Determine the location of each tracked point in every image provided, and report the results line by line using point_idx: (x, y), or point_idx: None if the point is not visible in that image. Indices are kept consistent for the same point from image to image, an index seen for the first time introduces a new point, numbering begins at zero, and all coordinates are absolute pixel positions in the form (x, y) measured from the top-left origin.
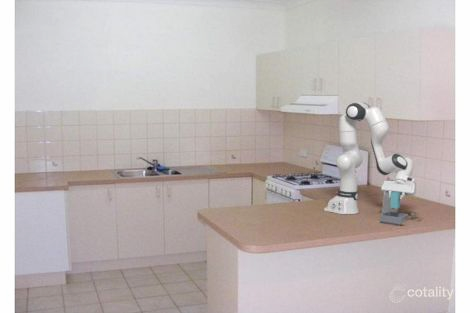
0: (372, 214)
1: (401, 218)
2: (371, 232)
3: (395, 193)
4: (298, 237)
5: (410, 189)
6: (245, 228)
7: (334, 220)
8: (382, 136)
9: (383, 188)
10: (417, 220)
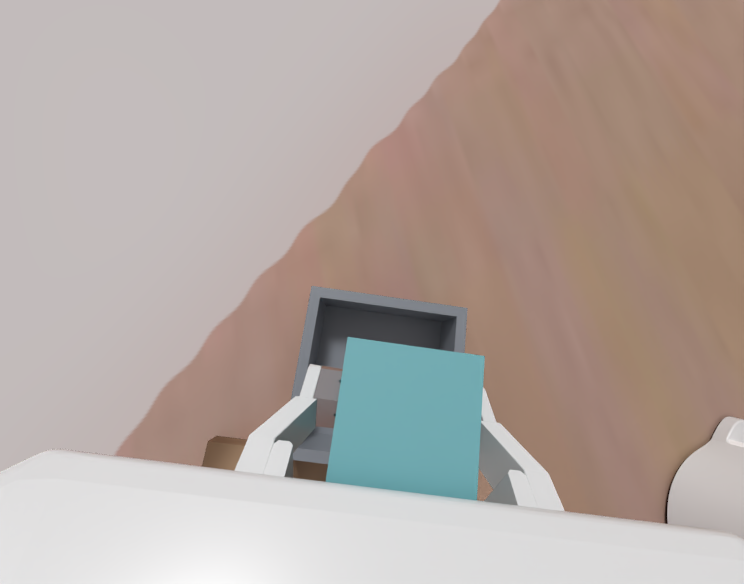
0: None
1: (310, 294)
2: (427, 101)
3: (396, 344)
4: None
5: (7, 568)
6: None
7: (676, 239)
8: None
9: (742, 562)
10: (223, 468)
